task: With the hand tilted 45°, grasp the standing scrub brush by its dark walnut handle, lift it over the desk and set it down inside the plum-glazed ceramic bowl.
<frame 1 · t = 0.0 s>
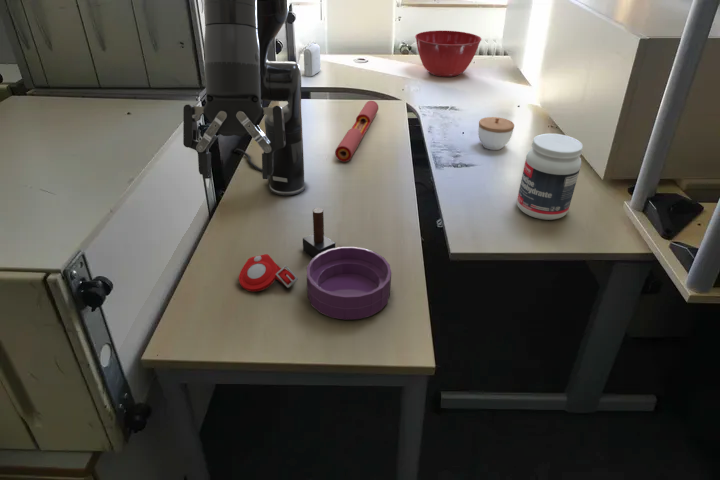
hand: (236, 178, 77), 31 cm above the table, tool tilted 20°, fingers open, 8 cm apart
tracker holder: (267, 282, 108), on the table
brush: (319, 253, 117), on the table
trinket box: (492, 146, 169), on the table
bowl: (348, 294, 105), on the table
mixing bowl: (444, 73, 237), on the table
blood vessel: (358, 136, 174), on the table
supplement tub: (541, 210, 135), on the table
photo printer: (312, 74, 232), on the table
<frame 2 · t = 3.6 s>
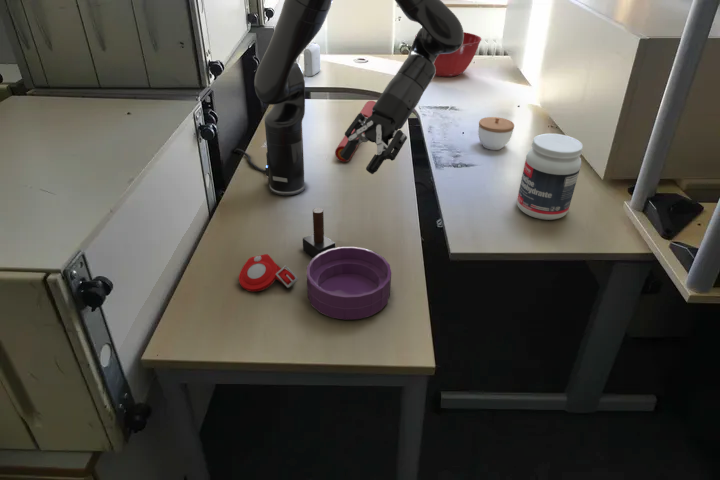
hand: (356, 165, 112), 18 cm above the table, tool tilted 45°, fingers open, 8 cm apart
nothing on the table moved.
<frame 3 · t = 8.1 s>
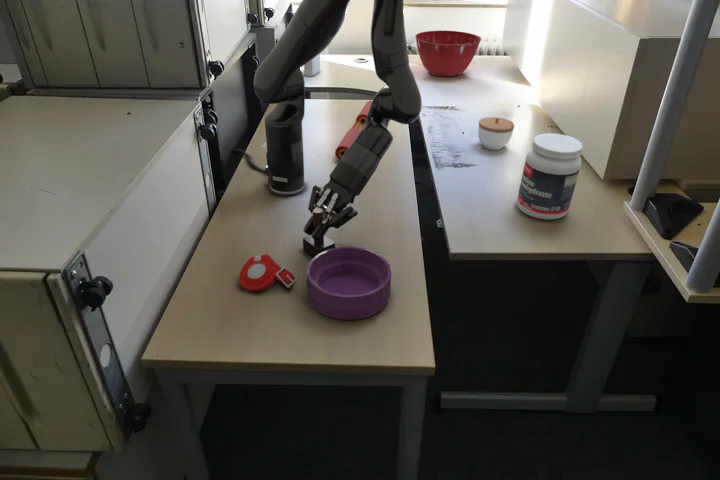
hand: (310, 236, 113), 5 cm above the table, tool tilted 45°, fingers closed on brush, 2 cm apart
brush: (319, 253, 117), on the table, touching gripper
everything else where it was.
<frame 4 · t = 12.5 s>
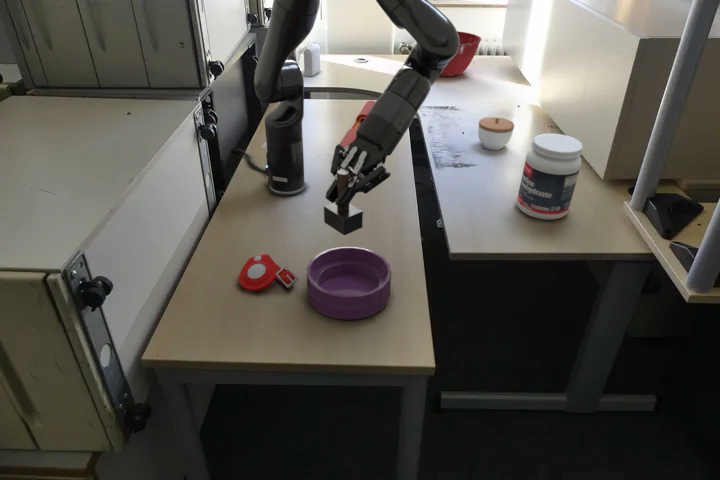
hand: (334, 203, 95), 20 cm above the table, tool tilted 45°, fingers closed on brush
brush: (343, 224, 99), point 14 cm above the table, touching gripper
everything else where it was.
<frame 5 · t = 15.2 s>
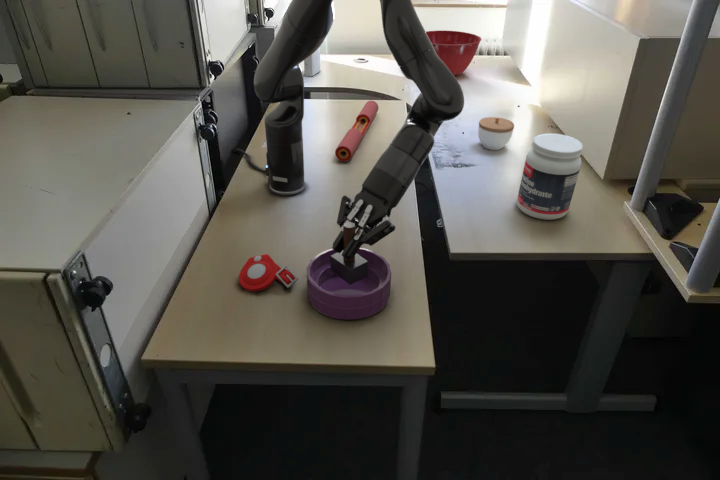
hand: (340, 254, 98), 11 cm above the table, tool tilted 45°, fingers closed on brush
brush: (349, 273, 102), point 5 cm above the table, touching gripper
everything else where it was.
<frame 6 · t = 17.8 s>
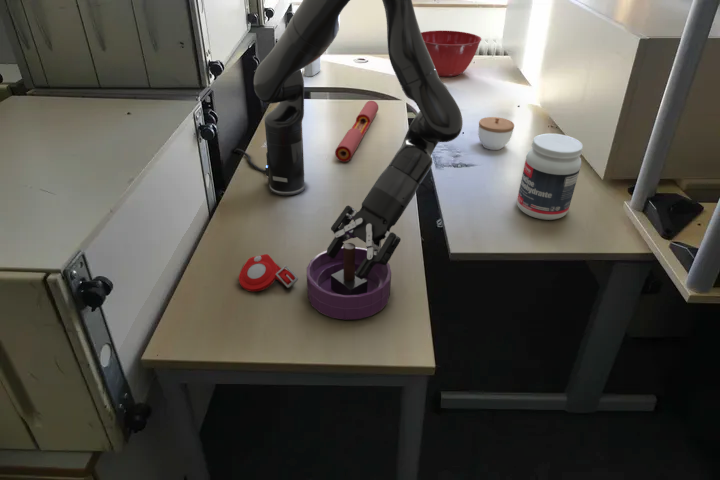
hand: (343, 266, 100), 7 cm above the table, tool tilted 45°, fingers open, 8 cm apart
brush: (348, 291, 105), point 1 cm above the table, touching bowl
everything else where it was.
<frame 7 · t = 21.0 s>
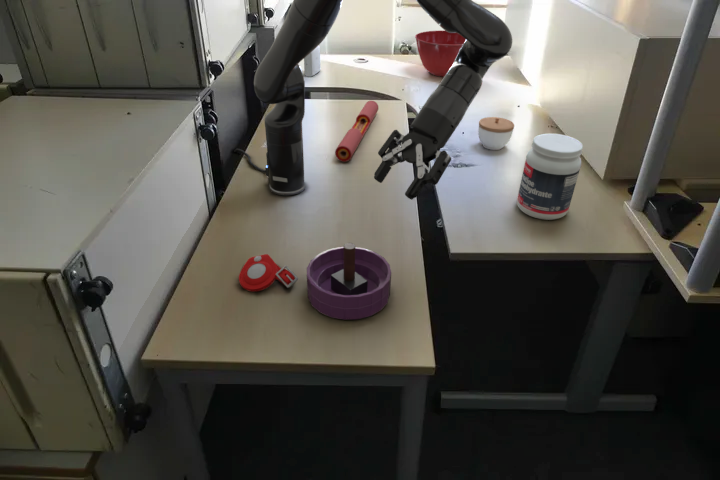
hand: (392, 188, 100), 20 cm above the table, tool tilted 45°, fingers open, 8 cm apart
nothing on the table moved.
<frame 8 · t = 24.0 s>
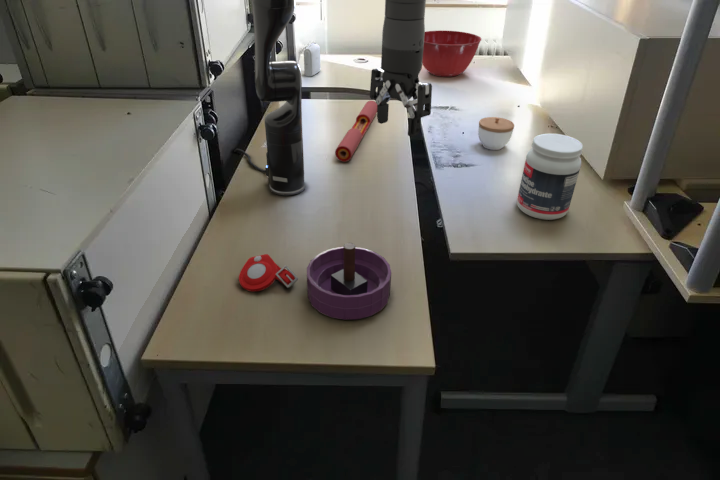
hand: (397, 128, 104), 28 cm above the table, tool pointing down, fingers open, 8 cm apart
nothing on the table moved.
at the end: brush inside the target area in the bowl (0.0 cm from its centre), point 0.6 cm above the bowl's base; the gripper is holding nothing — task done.
